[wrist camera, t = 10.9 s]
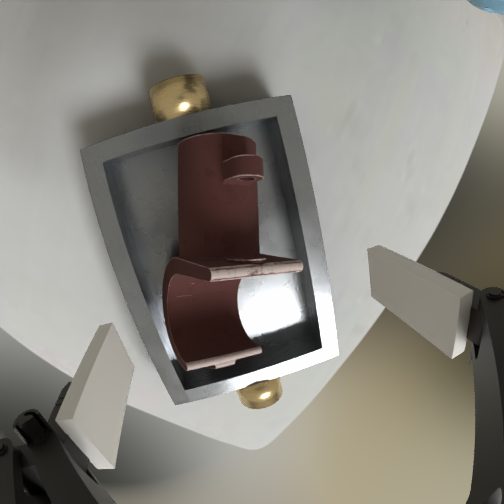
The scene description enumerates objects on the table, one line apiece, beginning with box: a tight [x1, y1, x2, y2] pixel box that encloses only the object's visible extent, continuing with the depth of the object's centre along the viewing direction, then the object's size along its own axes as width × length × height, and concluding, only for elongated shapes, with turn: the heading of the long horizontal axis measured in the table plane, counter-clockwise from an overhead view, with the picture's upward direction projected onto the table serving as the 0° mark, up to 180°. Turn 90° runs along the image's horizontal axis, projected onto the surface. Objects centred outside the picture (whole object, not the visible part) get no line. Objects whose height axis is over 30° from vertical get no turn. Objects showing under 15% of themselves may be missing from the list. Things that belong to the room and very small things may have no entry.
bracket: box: [162, 133, 303, 371], centre depth 21 cm, size 6×17×10 cm, turn 0°
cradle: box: [80, 74, 339, 409], centre depth 24 cm, size 29×16×4 cm, turn 14°
